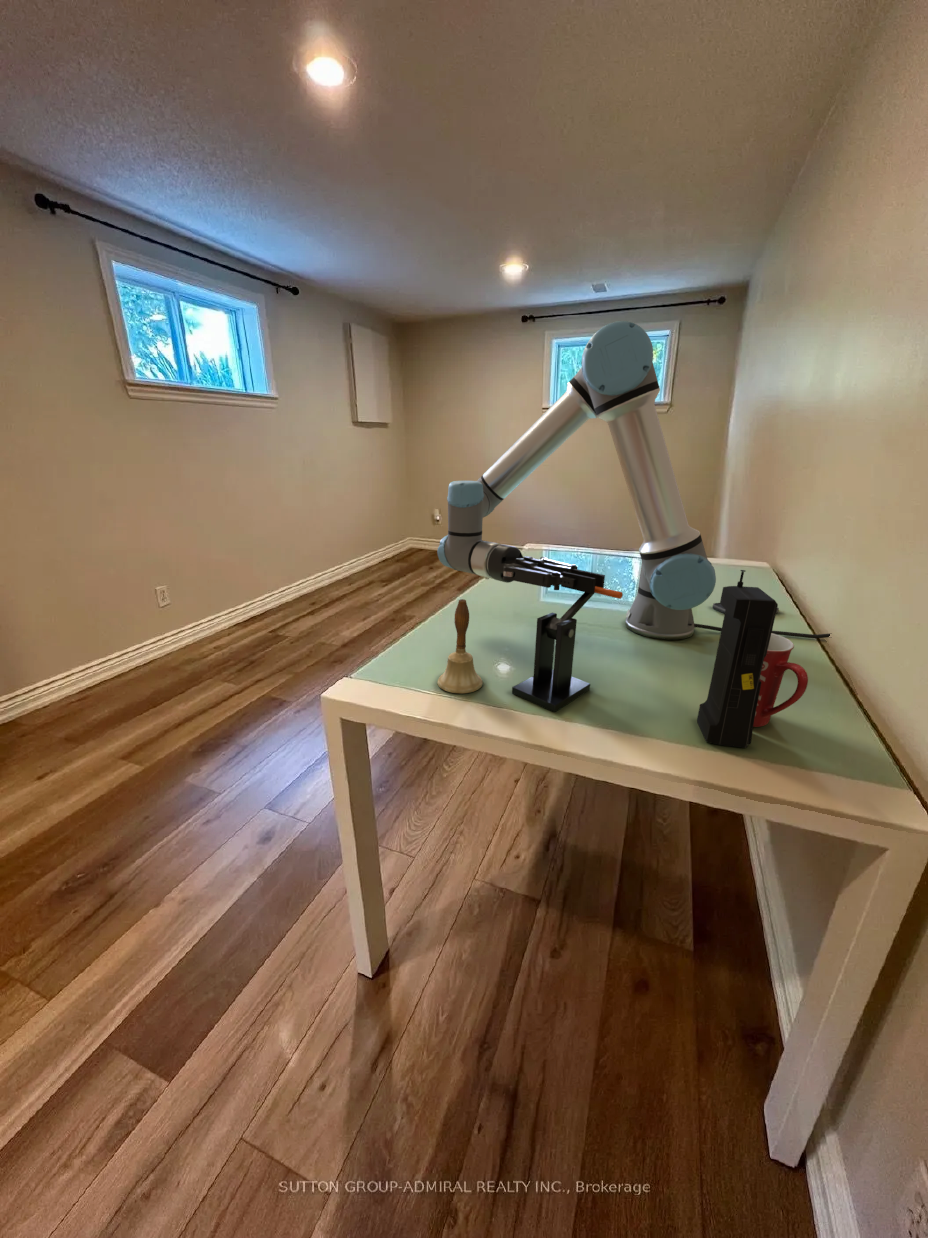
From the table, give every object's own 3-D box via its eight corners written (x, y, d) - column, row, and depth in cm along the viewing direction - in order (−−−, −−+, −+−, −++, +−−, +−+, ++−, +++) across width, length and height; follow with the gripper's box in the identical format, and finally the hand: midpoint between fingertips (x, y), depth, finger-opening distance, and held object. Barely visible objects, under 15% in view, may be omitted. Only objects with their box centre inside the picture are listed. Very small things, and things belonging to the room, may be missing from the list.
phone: (711, 603, 132) (757, 599, 135) (710, 607, 132) (756, 603, 135) (732, 612, 124) (781, 608, 128) (732, 617, 125) (780, 612, 128)
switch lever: (569, 586, 93) (568, 576, 92) (623, 599, 86) (622, 588, 85) (526, 630, 86) (524, 620, 85) (581, 648, 79) (579, 637, 78)
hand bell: (472, 670, 95) (474, 591, 89) (489, 689, 87) (492, 604, 82) (431, 676, 92) (430, 595, 86) (445, 697, 85) (445, 610, 79)
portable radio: (753, 754, 70) (795, 586, 62) (708, 748, 71) (743, 583, 63) (736, 724, 77) (772, 570, 69) (695, 720, 78) (726, 568, 70)
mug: (699, 706, 83) (714, 631, 78) (741, 698, 85) (757, 625, 81) (763, 748, 71) (785, 664, 67) (809, 737, 74) (833, 656, 70)
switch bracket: (548, 673, 94) (553, 605, 89) (589, 690, 88) (597, 617, 83) (511, 693, 86) (515, 620, 81) (554, 712, 80) (561, 634, 76)
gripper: (520, 572, 109) (617, 595, 93) (472, 586, 98) (572, 614, 83) (521, 539, 106) (622, 557, 91) (472, 549, 96) (576, 571, 80)
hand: (598, 584), depth 87 cm, fingers closed on switch lever, 2 cm apart
